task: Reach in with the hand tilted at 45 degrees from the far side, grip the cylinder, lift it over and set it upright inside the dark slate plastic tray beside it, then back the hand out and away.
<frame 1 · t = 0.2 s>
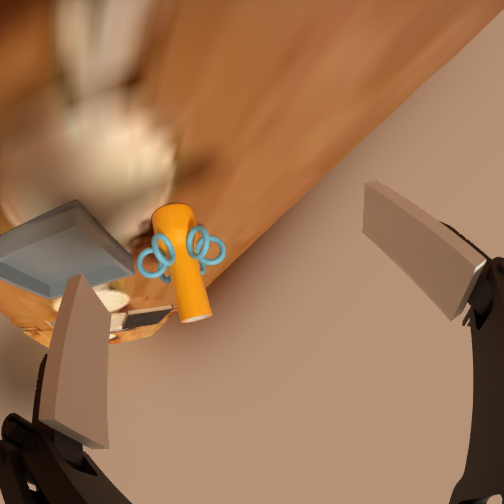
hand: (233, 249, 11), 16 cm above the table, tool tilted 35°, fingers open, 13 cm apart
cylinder: (171, 212, 38), on the table
hardcover book: (143, 313, 93), on the table
tray: (57, 252, 35), on the table
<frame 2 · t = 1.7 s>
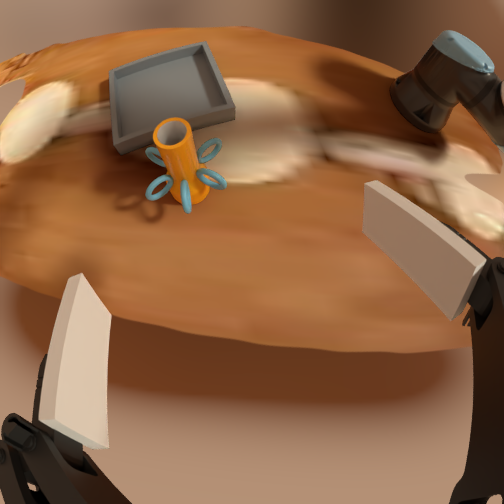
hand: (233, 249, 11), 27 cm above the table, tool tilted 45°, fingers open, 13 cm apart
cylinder: (191, 187, 40), on the table
tray: (166, 95, 42), on the table
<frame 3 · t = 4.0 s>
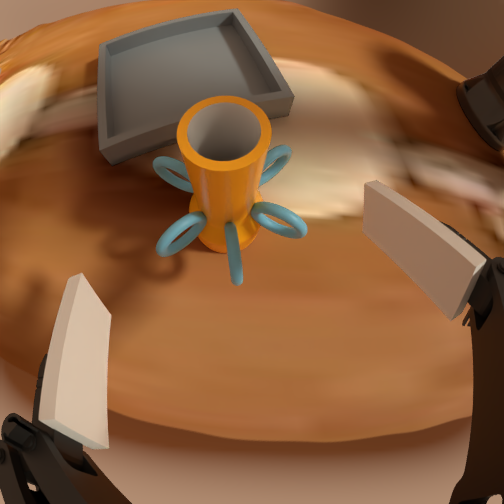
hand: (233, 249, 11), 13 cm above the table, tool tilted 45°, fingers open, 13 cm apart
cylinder: (227, 222, 26), on the table
tray: (182, 76, 28), on the table
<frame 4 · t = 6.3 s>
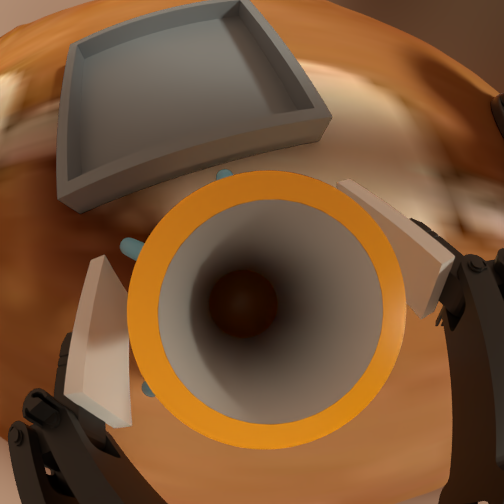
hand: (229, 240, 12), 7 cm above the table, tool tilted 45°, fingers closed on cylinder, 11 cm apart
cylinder: (239, 302, 18), on the table, touching gripper
tray: (173, 83, 21), on the table
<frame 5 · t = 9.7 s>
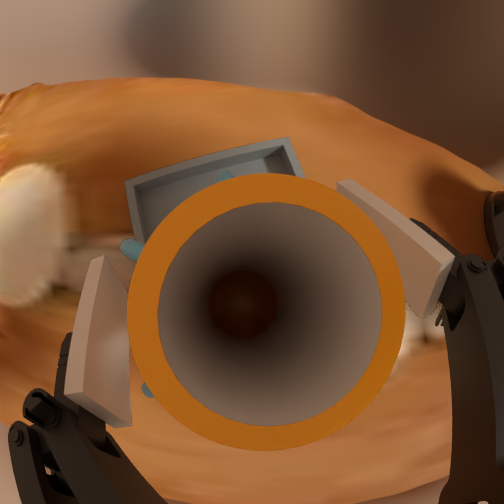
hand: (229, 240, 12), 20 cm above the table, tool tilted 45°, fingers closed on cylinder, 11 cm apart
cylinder: (239, 303, 18), point 13 cm above the table, touching gripper
tray: (230, 243, 32), on the table
when the fingers open (9 cm above the table, at t = 13.5 s): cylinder drops 1 cm, resting on tray.
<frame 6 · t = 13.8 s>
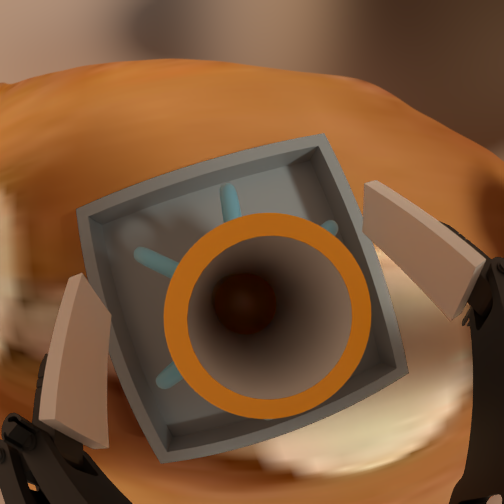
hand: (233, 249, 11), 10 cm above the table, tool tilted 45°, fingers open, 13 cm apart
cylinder: (241, 301, 20), point 1 cm above the table, touching tray
tray: (241, 300, 21), on the table
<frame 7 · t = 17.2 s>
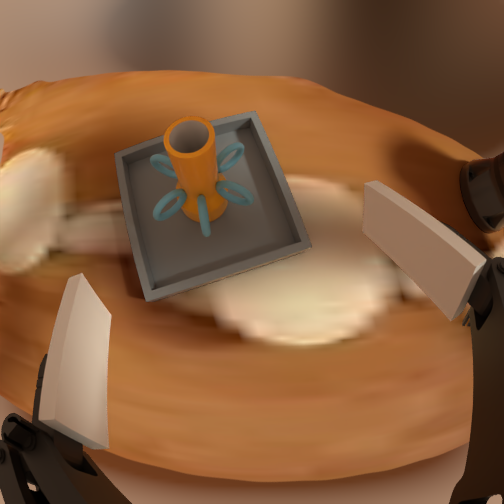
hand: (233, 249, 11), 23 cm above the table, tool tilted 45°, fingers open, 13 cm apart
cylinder: (205, 201, 34), point 1 cm above the table, touching tray
tray: (205, 203, 35), on the table
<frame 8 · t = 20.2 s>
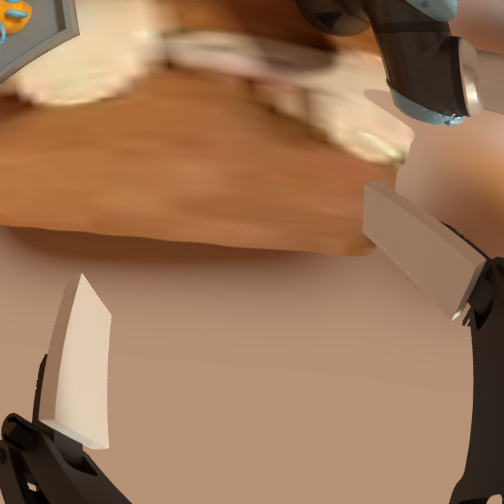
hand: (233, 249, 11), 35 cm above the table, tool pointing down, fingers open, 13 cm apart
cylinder: (19, 19, 16), point 1 cm above the table, touching tray
tray: (21, 19, 17), on the table
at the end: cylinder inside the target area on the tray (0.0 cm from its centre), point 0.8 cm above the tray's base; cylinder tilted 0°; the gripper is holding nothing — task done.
